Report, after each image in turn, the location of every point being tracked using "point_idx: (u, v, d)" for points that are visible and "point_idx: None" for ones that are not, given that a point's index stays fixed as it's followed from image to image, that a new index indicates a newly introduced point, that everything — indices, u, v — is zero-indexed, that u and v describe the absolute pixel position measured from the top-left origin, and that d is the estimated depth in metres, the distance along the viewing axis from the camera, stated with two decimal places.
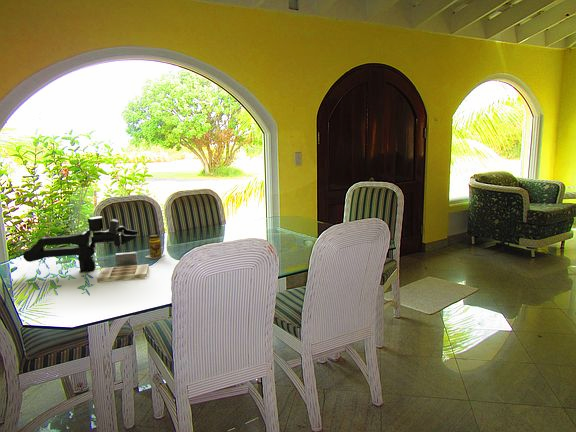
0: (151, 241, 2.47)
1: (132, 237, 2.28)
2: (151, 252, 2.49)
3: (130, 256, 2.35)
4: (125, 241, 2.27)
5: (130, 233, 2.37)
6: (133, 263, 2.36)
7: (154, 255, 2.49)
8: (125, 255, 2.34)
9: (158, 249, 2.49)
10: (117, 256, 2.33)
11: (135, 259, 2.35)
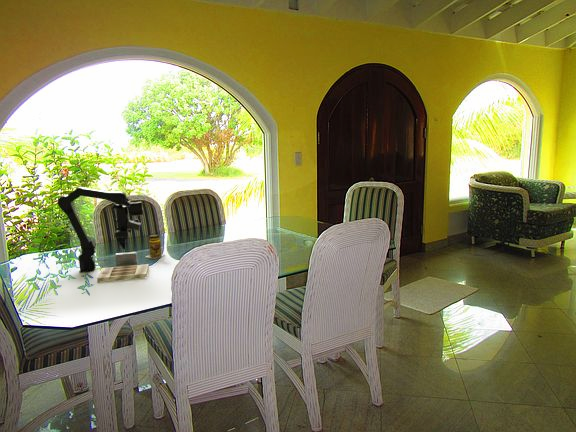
0: (151, 241, 2.47)
1: (123, 245, 2.29)
2: (151, 252, 2.49)
3: (130, 256, 2.35)
4: (119, 240, 2.27)
5: None
6: (133, 263, 2.36)
7: (154, 255, 2.49)
8: (125, 255, 2.34)
9: (158, 249, 2.49)
10: (117, 256, 2.33)
11: (135, 259, 2.35)
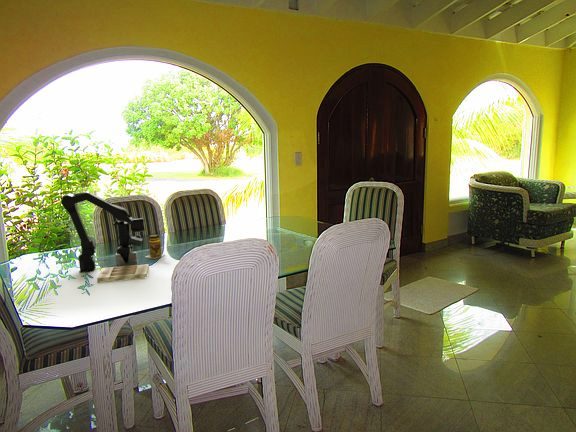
0: (151, 241, 2.47)
1: (126, 260, 2.34)
2: (151, 252, 2.49)
3: (130, 256, 2.35)
4: (122, 254, 2.32)
5: None
6: (133, 263, 2.36)
7: (154, 255, 2.49)
8: None
9: (158, 249, 2.49)
10: (117, 256, 2.33)
11: (135, 259, 2.35)
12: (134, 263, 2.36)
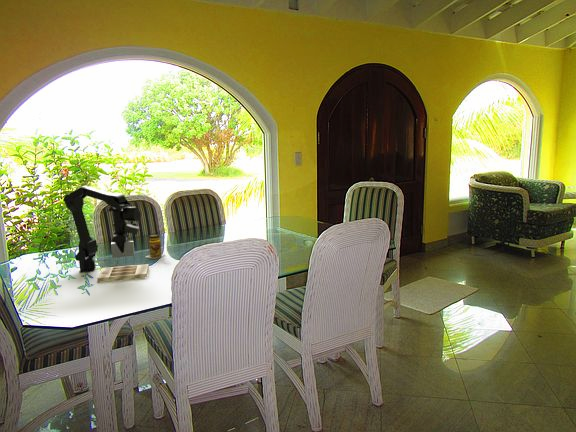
0: (151, 241, 2.47)
1: (121, 249, 2.20)
2: (151, 252, 2.49)
3: (126, 245, 2.21)
4: (117, 243, 2.18)
5: None
6: (130, 252, 2.23)
7: (154, 255, 2.49)
8: None
9: (158, 249, 2.49)
10: (113, 245, 2.20)
11: (132, 248, 2.22)
12: (131, 253, 2.23)
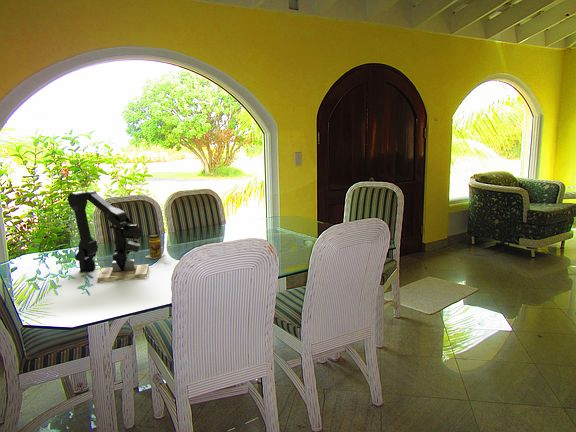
0: (151, 241, 2.47)
1: (122, 267, 2.19)
2: (151, 252, 2.49)
3: (127, 264, 2.22)
4: (117, 261, 2.17)
5: None
6: None
7: (154, 255, 2.49)
8: None
9: (158, 249, 2.49)
10: (114, 264, 2.20)
11: (133, 267, 2.23)
12: None
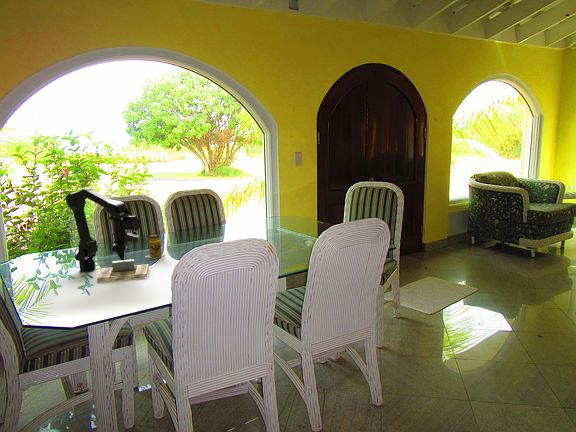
0: (151, 241, 2.47)
1: (122, 257, 2.21)
2: (151, 252, 2.49)
3: (127, 264, 2.22)
4: (117, 251, 2.19)
5: None
6: None
7: (154, 255, 2.49)
8: (122, 263, 2.21)
9: (158, 249, 2.49)
10: (114, 264, 2.20)
11: (133, 267, 2.23)
12: None
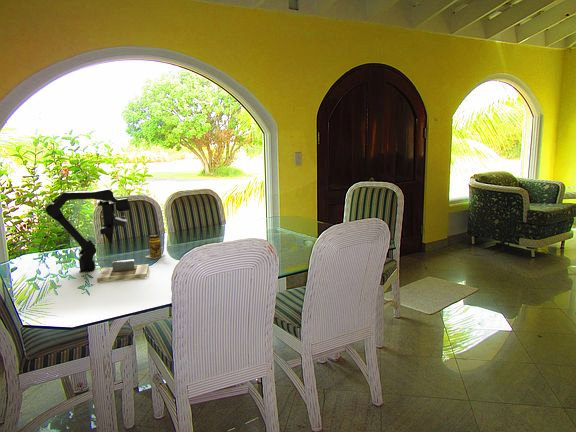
0: (151, 241, 2.47)
1: (110, 240, 2.34)
2: (151, 252, 2.49)
3: (127, 264, 2.22)
4: (106, 234, 2.32)
5: None
6: None
7: (154, 255, 2.49)
8: (122, 263, 2.21)
9: (158, 249, 2.49)
10: (114, 264, 2.20)
11: (133, 267, 2.23)
12: None
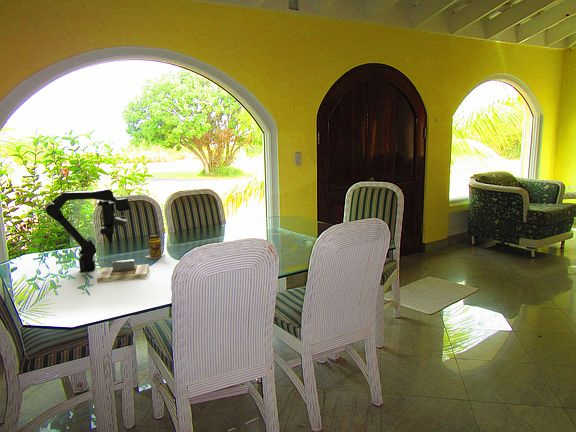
0: (151, 241, 2.47)
1: (110, 240, 2.34)
2: (151, 252, 2.49)
3: (127, 264, 2.22)
4: (106, 234, 2.32)
5: None
6: None
7: (154, 255, 2.49)
8: (122, 263, 2.21)
9: (158, 249, 2.49)
10: (114, 264, 2.20)
11: (133, 267, 2.23)
12: None
